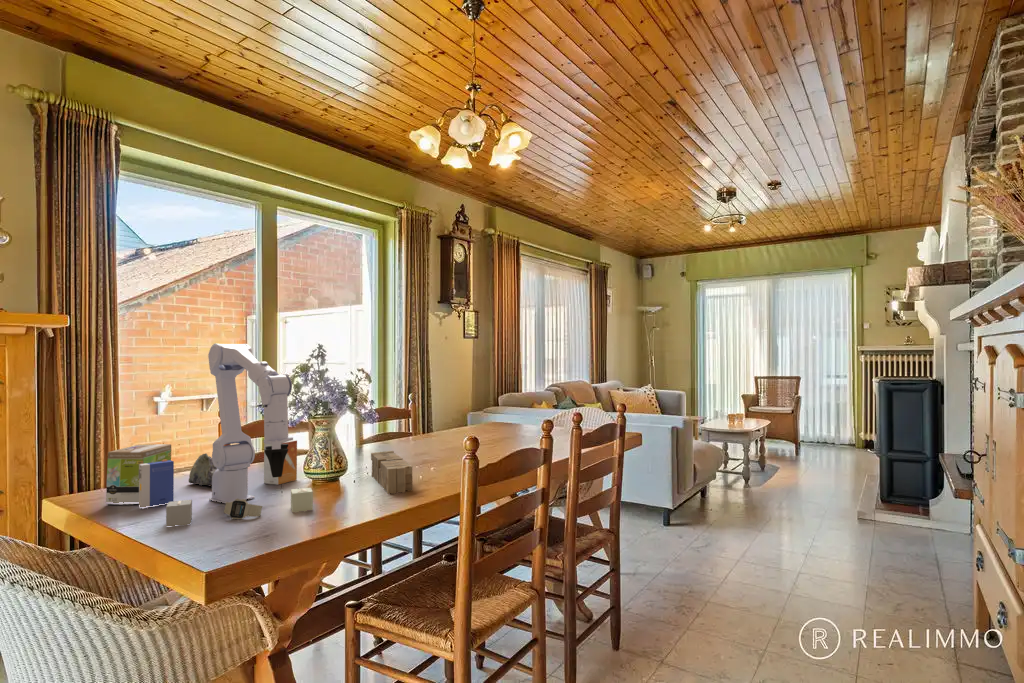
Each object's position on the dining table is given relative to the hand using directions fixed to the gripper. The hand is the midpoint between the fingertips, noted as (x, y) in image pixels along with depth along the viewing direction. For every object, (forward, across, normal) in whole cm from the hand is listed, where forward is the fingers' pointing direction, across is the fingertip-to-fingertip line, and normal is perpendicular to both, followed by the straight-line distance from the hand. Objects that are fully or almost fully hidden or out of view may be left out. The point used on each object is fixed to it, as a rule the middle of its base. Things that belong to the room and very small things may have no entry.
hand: (277, 474), depth 148 cm
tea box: (+8, +32, +37) cm, 49 cm away
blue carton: (+9, +22, +31) cm, 39 cm away
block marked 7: (+10, +2, -6) cm, 12 cm away
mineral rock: (+8, +43, +21) cm, 49 cm away
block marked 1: (+10, 0, +22) cm, 24 cm away
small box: (+9, +40, 0) cm, 41 cm away
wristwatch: (+10, +1, +8) cm, 13 cm away
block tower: (+10, +24, -33) cm, 42 cm away
